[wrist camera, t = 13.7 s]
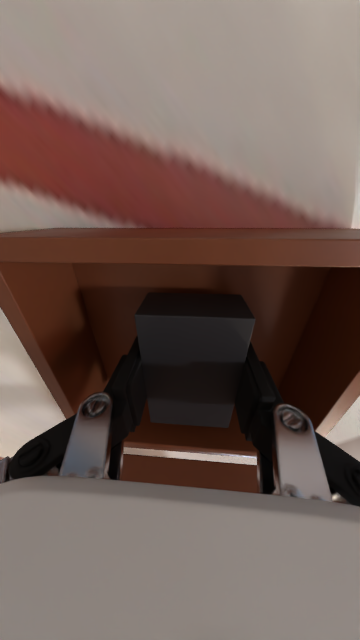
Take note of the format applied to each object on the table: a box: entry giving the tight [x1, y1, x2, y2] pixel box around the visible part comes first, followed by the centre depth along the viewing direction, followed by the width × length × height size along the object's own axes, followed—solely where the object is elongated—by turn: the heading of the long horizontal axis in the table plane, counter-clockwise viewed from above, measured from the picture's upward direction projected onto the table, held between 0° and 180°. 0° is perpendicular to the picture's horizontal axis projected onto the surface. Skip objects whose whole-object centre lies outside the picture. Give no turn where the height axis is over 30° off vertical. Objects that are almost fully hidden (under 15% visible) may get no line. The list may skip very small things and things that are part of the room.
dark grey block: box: [134, 292, 256, 428], centre depth 10 cm, size 8×5×3 cm, turn 0°
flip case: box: [0, 228, 360, 458], centre depth 11 cm, size 14×16×5 cm
